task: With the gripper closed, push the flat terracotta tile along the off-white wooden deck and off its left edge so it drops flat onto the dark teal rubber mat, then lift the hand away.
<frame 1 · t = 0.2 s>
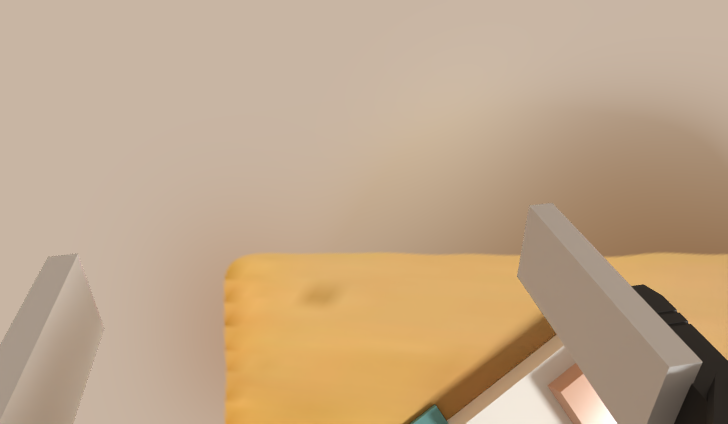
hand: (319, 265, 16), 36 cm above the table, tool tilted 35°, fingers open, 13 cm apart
deck: (564, 416, 54), on the table
tile: (604, 406, 52), point 3 cm above the table, touching deck
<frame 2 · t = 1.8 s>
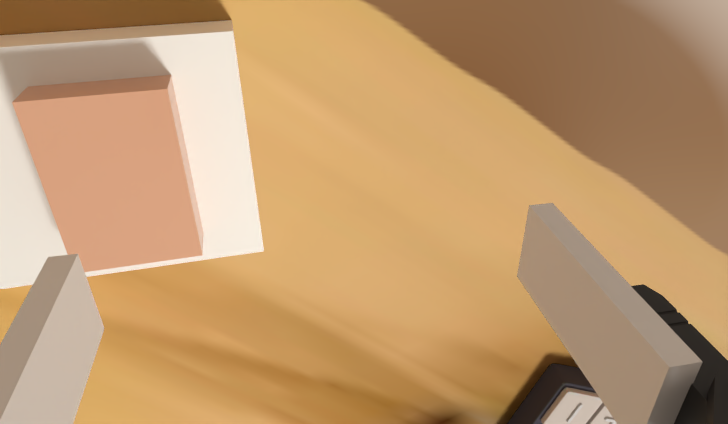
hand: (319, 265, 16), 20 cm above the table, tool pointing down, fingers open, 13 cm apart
deck: (79, 152, 33), on the table
tile: (124, 167, 31), point 3 cm above the table, touching deck
calculator: (573, 405, 58), on the table
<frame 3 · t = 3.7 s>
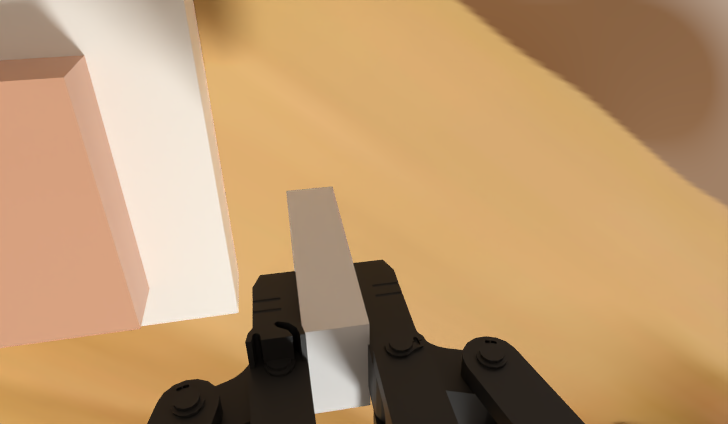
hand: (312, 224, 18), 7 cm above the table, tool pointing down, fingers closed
tile: (22, 196, 20), point 3 cm above the table, touching deck
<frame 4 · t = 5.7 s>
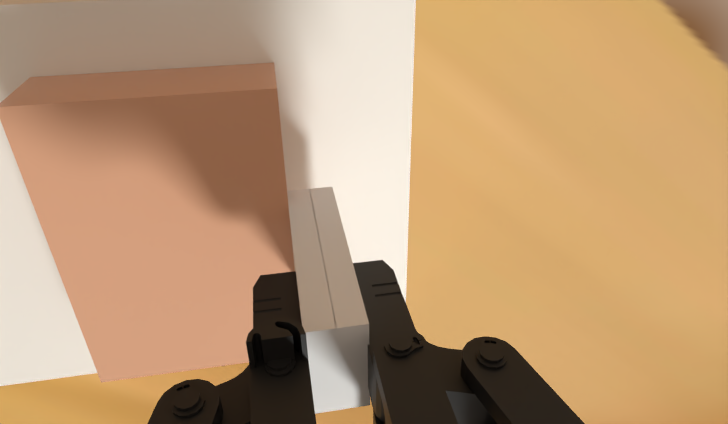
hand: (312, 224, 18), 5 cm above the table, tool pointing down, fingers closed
deck: (139, 178, 21), on the table
tile: (186, 212, 19), point 3 cm above the table
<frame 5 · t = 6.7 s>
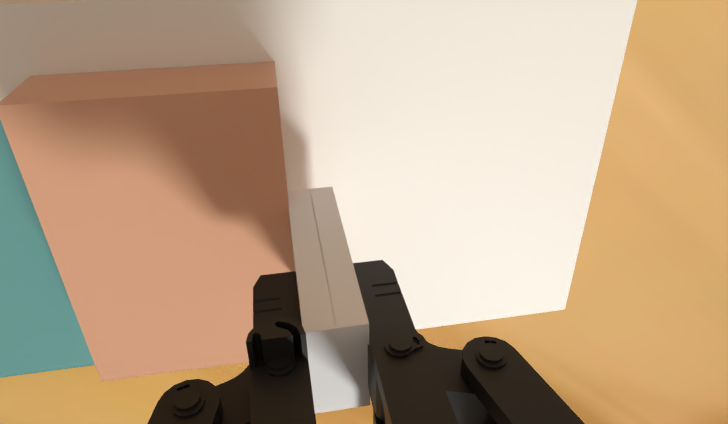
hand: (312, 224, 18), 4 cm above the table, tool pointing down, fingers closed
deck: (329, 160, 22), on the table
tile: (186, 211, 19), point 3 cm above the table, touching gripper
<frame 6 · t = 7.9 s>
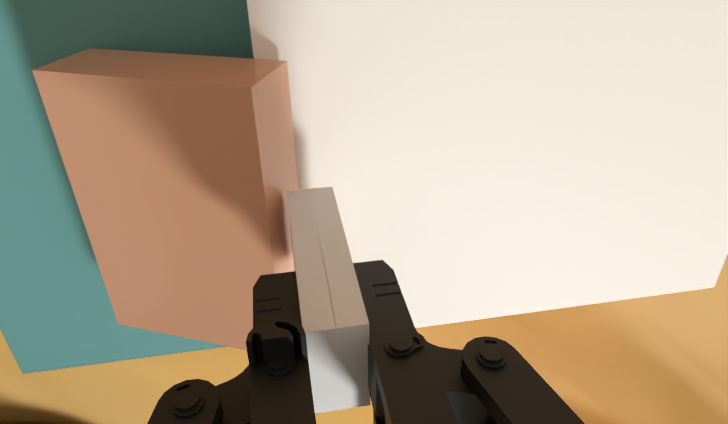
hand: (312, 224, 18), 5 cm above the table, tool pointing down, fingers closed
deck: (506, 143, 23), on the table
tile: (209, 192, 20), point 2 cm above the table, tilted 25°, touching deck, gripper, mat
mat: (112, 179, 21), on the table
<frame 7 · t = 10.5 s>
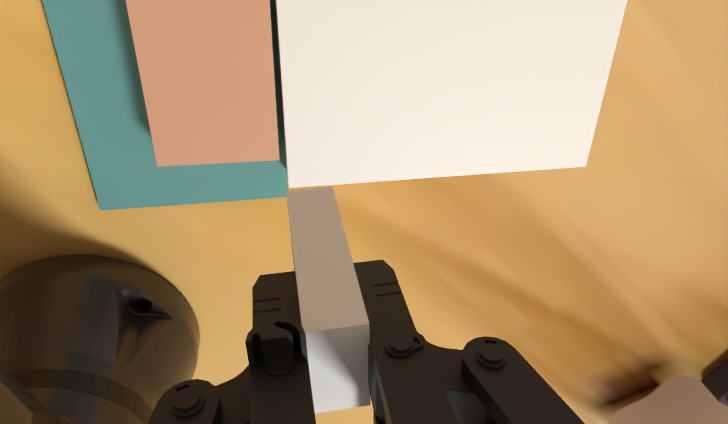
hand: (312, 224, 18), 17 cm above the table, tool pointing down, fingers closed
deck: (439, 55, 34), on the table
tile: (211, 66, 31), resting on mat
mat: (175, 65, 31), on the table
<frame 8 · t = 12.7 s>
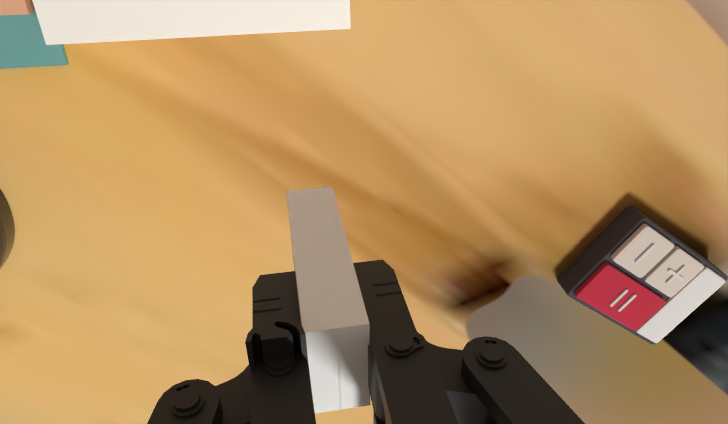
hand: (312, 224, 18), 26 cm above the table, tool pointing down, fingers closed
calculator: (630, 267, 60), on the table
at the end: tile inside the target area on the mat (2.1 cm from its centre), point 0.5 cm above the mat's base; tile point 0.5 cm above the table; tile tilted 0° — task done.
